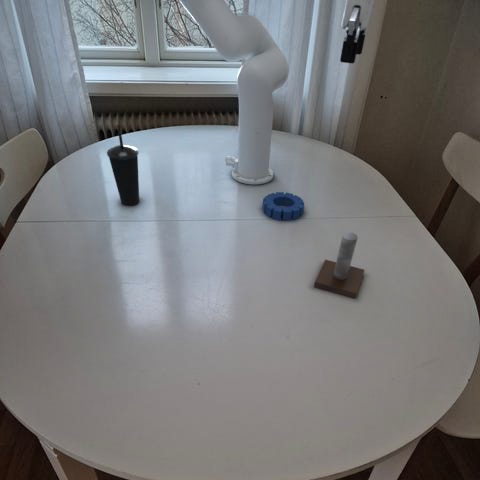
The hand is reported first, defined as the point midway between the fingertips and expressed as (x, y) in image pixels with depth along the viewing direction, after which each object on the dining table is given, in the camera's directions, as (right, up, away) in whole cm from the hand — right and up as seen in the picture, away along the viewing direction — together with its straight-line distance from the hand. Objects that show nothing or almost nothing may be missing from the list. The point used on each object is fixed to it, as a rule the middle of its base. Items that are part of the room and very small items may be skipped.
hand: (351, 57), depth 100 cm
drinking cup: (-56, -29, +17) cm, 65 cm away
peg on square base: (-4, -52, -5) cm, 53 cm away
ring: (-14, -31, +16) cm, 38 cm away
